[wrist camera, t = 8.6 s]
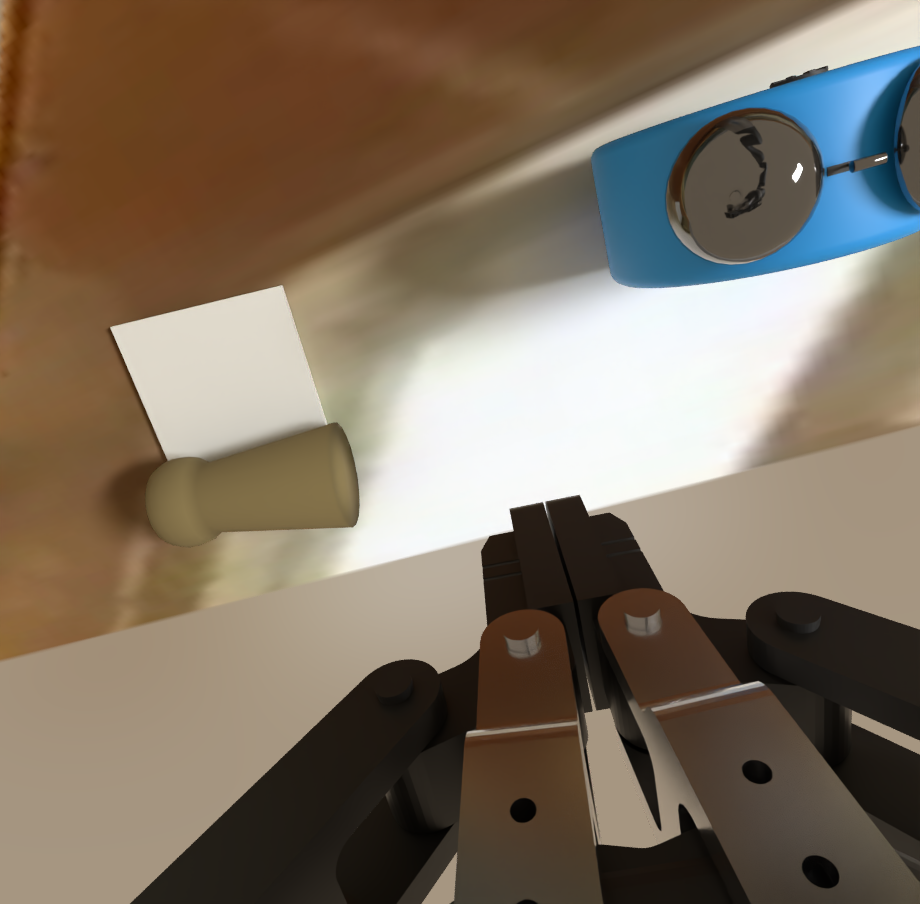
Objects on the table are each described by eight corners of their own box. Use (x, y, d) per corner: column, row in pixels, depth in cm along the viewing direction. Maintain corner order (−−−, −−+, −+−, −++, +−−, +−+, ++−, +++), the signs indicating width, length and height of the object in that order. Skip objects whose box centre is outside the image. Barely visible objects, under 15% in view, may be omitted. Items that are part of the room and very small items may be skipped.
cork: (343, 414, 37) (170, 446, 38) (320, 432, 31) (114, 469, 32) (364, 508, 38) (196, 537, 39) (345, 542, 33) (147, 576, 33)
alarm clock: (586, 275, 34) (680, 315, 20) (563, 156, 32) (651, 109, 18) (824, 210, 33) (1099, 204, 19) (818, 82, 31) (1122, -30, 17)
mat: (113, 326, 35) (109, 327, 34) (282, 285, 34) (280, 285, 34) (193, 511, 39) (191, 514, 39) (345, 478, 38) (344, 480, 38)
